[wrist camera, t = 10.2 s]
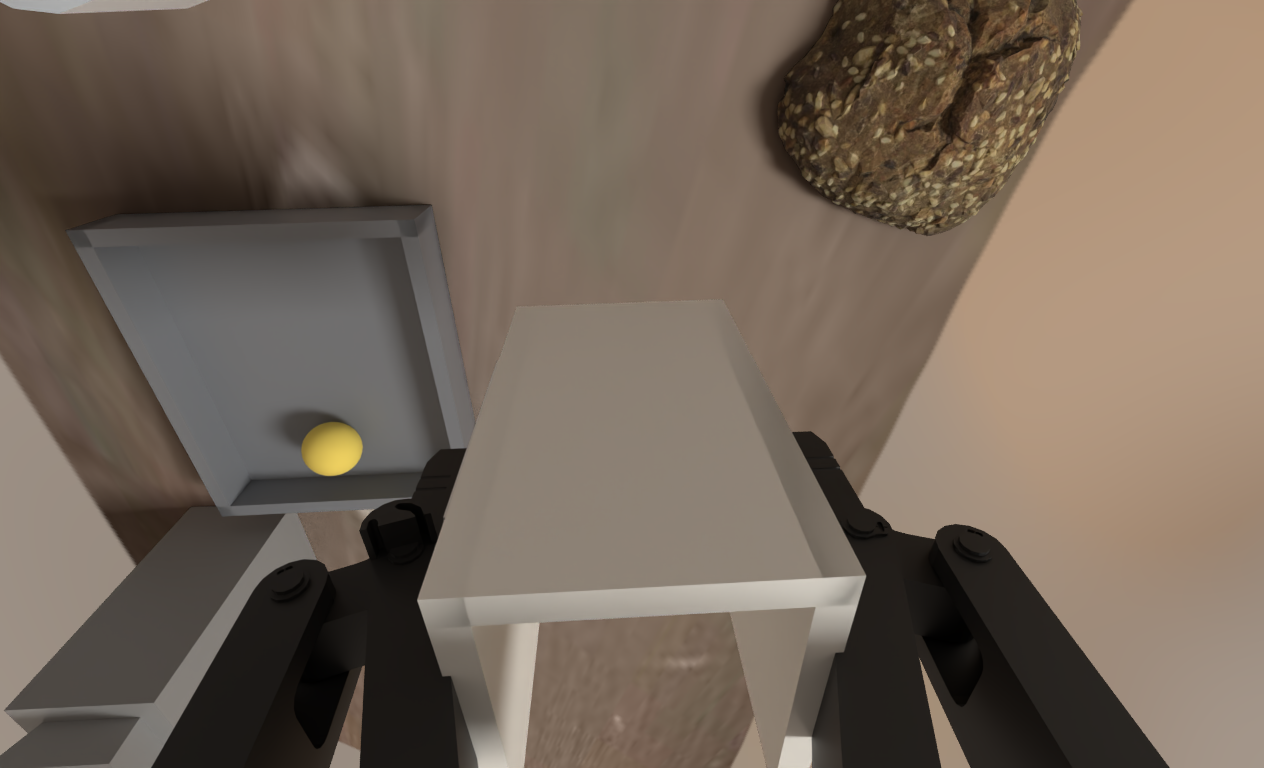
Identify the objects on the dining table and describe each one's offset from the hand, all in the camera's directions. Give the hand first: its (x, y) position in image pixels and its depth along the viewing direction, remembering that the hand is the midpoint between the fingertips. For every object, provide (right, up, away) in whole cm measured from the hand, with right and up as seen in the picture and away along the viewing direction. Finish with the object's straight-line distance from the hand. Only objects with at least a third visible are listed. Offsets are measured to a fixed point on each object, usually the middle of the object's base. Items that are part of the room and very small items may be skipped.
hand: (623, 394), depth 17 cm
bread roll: (+14, +15, +10) cm, 23 cm away
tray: (-18, +2, +15) cm, 23 cm away
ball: (-18, -3, +15) cm, 24 cm away
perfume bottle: (-26, -11, +22) cm, 36 cm away
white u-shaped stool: (0, 0, 0) cm, 0 cm away
